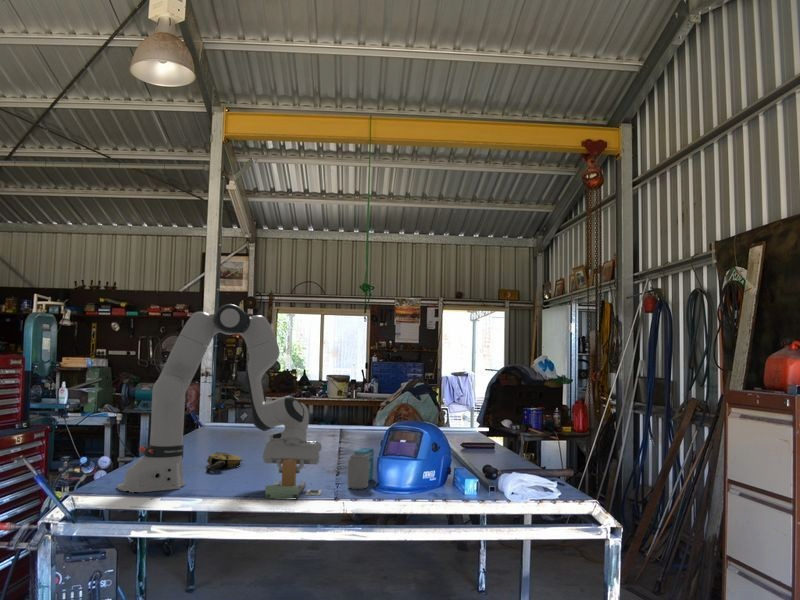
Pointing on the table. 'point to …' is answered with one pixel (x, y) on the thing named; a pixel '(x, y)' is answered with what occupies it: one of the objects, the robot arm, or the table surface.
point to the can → (358, 471)
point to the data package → (370, 455)
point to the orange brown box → (289, 472)
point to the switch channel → (287, 491)
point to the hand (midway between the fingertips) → (289, 472)
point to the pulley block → (222, 461)
